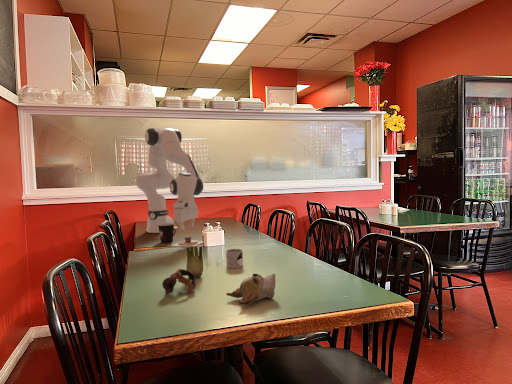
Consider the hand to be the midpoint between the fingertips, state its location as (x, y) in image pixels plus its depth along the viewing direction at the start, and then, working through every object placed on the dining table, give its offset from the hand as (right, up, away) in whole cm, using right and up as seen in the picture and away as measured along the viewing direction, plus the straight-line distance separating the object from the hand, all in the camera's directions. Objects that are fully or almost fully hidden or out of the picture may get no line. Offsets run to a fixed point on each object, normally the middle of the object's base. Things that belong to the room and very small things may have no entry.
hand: (187, 228), depth 198 cm
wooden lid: (+1, -8, 0) cm, 8 cm away
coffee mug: (-12, -9, +7) cm, 17 cm away
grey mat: (+1, -9, 0) cm, 9 cm away
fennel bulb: (+14, -13, -60) cm, 63 cm away
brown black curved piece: (+11, -14, -76) cm, 78 cm away
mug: (+29, -11, -45) cm, 55 cm away
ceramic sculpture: (+37, -14, -86) cm, 94 cm away
